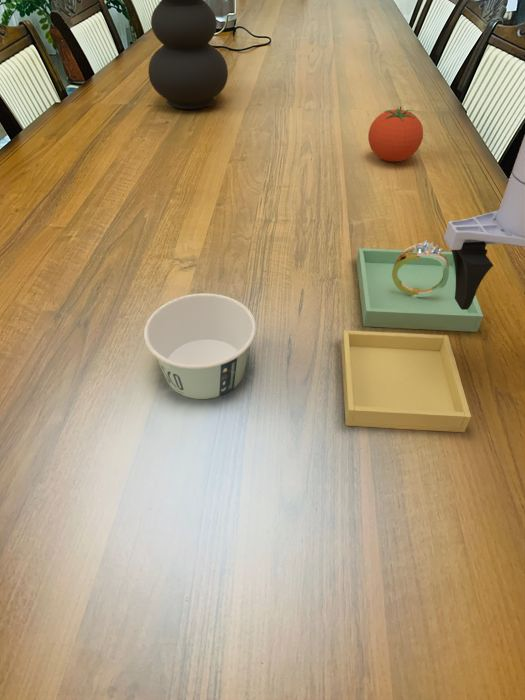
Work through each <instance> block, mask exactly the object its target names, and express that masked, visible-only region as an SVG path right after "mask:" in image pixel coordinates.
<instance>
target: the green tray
mask: <svg viewBox="0 0 525 700" xmlns="http://www.w3.org/2000/svg"><path fill="white" fill-rule="evenodd" d="M404 250H405V249H391V248H390V249H389V248H388V249H387V248H368V247H367V248H366V247H364V248H363V247H361V248H360V247H359V248H358V251H357V259H356V271H357V279H358V288H359V289H358V290H359V297H360V299H359V300H360V308H361V315H362V325H363V327H367V328H386V329H387V328H388V329H407V330H408V329H409V330H430V331H451V332H469V333H470V332H472V333H477V332H479V329H480V327H481V323H482V321H483V319H484V314H483V311H482V309H481V306H480V303H479V301H478V298H477V294H475V296H474V299H473V302H472V304H471V306H470V307H469V309H467V310H462V309H461V308H460V307H459V305H458V303H457V302H456V300H455V289H456V274H455V264H454V259H453V254H452V251H441V253H442V254H443V255H444V256H445V257H446V259H447V260H448V263H449V277H448V281H447V283H446V285H445V286H444V287H443V288H442V289H441V290H440V291H439V292H437V293H436V294H434V295H431V296H427V297H417V298H412V297H411V295H408V294H406V293H404V292H402V291H401V290H400V289H398V288H397V286H396V285H395V283H394V281H393V278H392V271H393V267H394V264H395V261H396V260H397V258H398V256H399V255H400V254H401V253H402V252H403V251H404ZM416 253H417V252H416V251H413V252H411V253H409V254H408V255H411V254H416ZM398 276H399V279H400V280H401V282H402V283H403V284H404V285H406V286H407V287H409V288H412V289H413V288H418V289H419V290H427V289H430V288H432V287H434V286H436V285H437V284H438V283H439V282H440V280H441V279H442V276H443V267H442V265H441V263H440V262H439V261H437V260H435V259H431V258H420V257H419V259H417V260H413V261H410V262H407V263H405V264H404V265H402V266H401V267H400V268H399V270H398Z"/></svg>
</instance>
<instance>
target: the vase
mask: <svg viewBox="0 0 525 700" xmlns="http://www.w3.org/2000/svg"><path fill="white" fill-rule="evenodd" d="M150 18H151V19H150V26H151V30H152V32H153V34H154V36H155V37H156V39H157V40H158V41H159V42H160V44H162V45H161V47H159V48H158V49H157V50H155V52H154V53H153V54H152V56H151V58H150V60H149V63H148V78H149V81H150V84H151V86H152V87H153V89H154V91H155V92H156V93H157V95H160V96H161V97H162V98H164V99H165V100H167V101H166V102H167V104H168V105H169V106H170V107H173V108H175V109H181V110H199V109H203V108H207V107H209V106H211V105H212V104H214V102H215V98H216V97H217V96H218V95H220V94H221V93H222V91H223V90H224V89H225V87H226V84H227V81H228V77H229V76H228V75H229V71H228V69H229V68H228V64H227V62H226V59H225V57H224V56H223V54H222V53H221V52H220V51H219V50H218V49H217V48H216V47H214V46H212V45H211V44H210V42H211V41H212V39H213V38H214V36H215V34H216V31H217V28H218V27H217V26H218V23H217V16H216V14H215V12H214V11H213V9H212V8H211V6H210V5H209V4H208V3H207V2H206V1H205V0H160V1H159V2H158V4H157V6H156V7H155V8H154V10H153V11H152V14H151V17H150Z"/></svg>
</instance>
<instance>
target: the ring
mask: <svg viewBox="0 0 525 700" xmlns="http://www.w3.org/2000/svg"><path fill="white" fill-rule="evenodd" d="M438 247H439V245H438V244H436V245H434V242H432V241H431V242H428V240H427V239H424V241H423V242H419V243H415V244H412V245H410V246H409V247H407V248H404V249H403V250H404V251H403V252H402V253H401V254H400V255H399V256H398V258H397V260H396V261H395V264H394V267H393V271H392V278H393V281H394V283H395V285H396V286H397V288H398V289H400V290H401V291H402V292H404V293H406V294H408V295H411V297H412V298H417V297H427V296H431V295H434V294H436V293H437V292H439V291H440V290H441V289H442V288H443V287H444V286H445V285H446V283H447V281H448V277H449V263H448V260H447V259H446V257H445V256H444V255H443V254H442V253H441V252H443V248H442V247H440V248H439V249H438ZM413 251H416V252H417V253H416V254H411V255H408V254H409V253H411V252H413ZM419 257H420V258H431V259H435V260H437V261H439V262H440V263H441V265H442V267H443V276H442V279H441V280H440V282H439V283H438V284H437V285H436V286H434V287H432V288H430V289H427V290H419V289H418V288H413V289H412V288H409V287H407V286H406V285H404V284H403V283H402V282H401V280H400V279H399V276H398V270H399V268H400V267H401V266H402V265H404V264H405V263H407V262H410V261H413V260H417V259H419Z"/></svg>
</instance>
